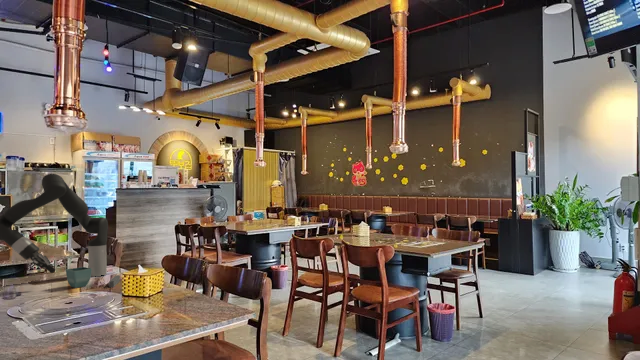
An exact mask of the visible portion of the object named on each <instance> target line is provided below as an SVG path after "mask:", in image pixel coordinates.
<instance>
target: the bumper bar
mask: <svg viewBox="0 0 640 360" xmlns="http://www.w3.org/2000/svg"><path fill="white" fill-rule="evenodd" d="M120 278H121V275H120V274H115V276H114V277H112V278H111V279H110V280H109V282H108V284H109V285H108V286H109V287H108V288H115V286H116V285H118V284H119V283H120V282H121V280H120Z"/></svg>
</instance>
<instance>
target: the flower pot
mask: <svg viewBox="0 0 640 360" xmlns="http://www.w3.org/2000/svg"><path fill="white" fill-rule="evenodd" d="M91 271H92V268H88V267H86V266H81V267H75V268H73V267H72V268H65V275H66V280H67V283H68V284H69V286H70V287H72V288H75V289H79V288H84V287H87V285H88V284H89V282H90V280H91V278H92V277H91Z"/></svg>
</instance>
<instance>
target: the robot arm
mask: <svg viewBox="0 0 640 360" xmlns="http://www.w3.org/2000/svg"><path fill="white" fill-rule="evenodd" d="M41 185H42V189H43V192H42V193H41V194H40V195H39V196H37V197H35V198H31V199H30V198H29V199H24V200H21V201H19V202H17V203H15V204H13V205H12V206H10V207H9V208H7V209H6V210H5V211H4V213H3V214H2V215H1V216H0V240H1V241H3V242H5V243H6V244H7V245H8V247H10V248H12V250H13V251H14V252H16V253H17V254H18V255H19V256H21V258H23V259H24V260H25V261H27V260H30V259H31V263H32V265H35V266H37V267H39V268H41V269H45V270H46V271H48V272H50V273H51V274H53V273H54V272H56V271H57V270H56V267H54V266H53V265H51V261H50V259H49V258H48V256H47V255H44V254H43V253H40V252H39V251H40V247H39V246H37V245H36V244H35V243H34V242H33V241H31V240H30V239H29V238H28V237H26V236H25V235H24V234H22V233H21V232H20V231H18V230H17V229H11V227H12V226H14V224H16V223H17V222H19V221H20V220H21V219H23V218H24V217H26V216H27V215H28V214H30V213H32V212H34V211H36V210H37V209H40V208H42V207H44V206H45V205H48V204H49V203H51V202H54V201H56V200H58V201H59V203H60V204H61V205H62V208H63V209H64V210H65V211H66V212H67V213H69V215H70V216H71V217H73V218H74V219H75V220H76V221H77V222H78V223H79V224H80V226H81V227H82V228H83V229H84V230H85V232H87V233H88V234H90V235H91V234H93V235H94V234H95V235H96V237H95V238H93V239H91V240H90V239H89V241H88V243H87V244H88V246H87V247H88V249H87V250H88V251H87V252H88V253H87V254H88V256H87V257H88V259H87V260H88V263H87V265H88V266H87V268H92V271H91V277H90V278H96V277H95V276H97V277H102V276H101V275H104V276H106V275H107V266H108V265H107V259H108V258H107V256H108V255H107V241H108V230H109V222H108V219H107V217H102V216H101V217H94V216H93V217H92V216H90V214H88V213H89V207H88V204H87V203H86V202H85V201H84V200H83V199H82V198H81V197H80V196H79V195H78V194H77V193H76V192H75V191H73V190H72V189H71V188H70V186H69V185H68V184H67V183H66V181H65V180H64V178H63V177H62V176H60V175H59V174H58V173H57V174H56V173H48V174H46V175H44V176H43V178H42V179H41ZM105 274H106V275H105Z"/></svg>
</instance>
